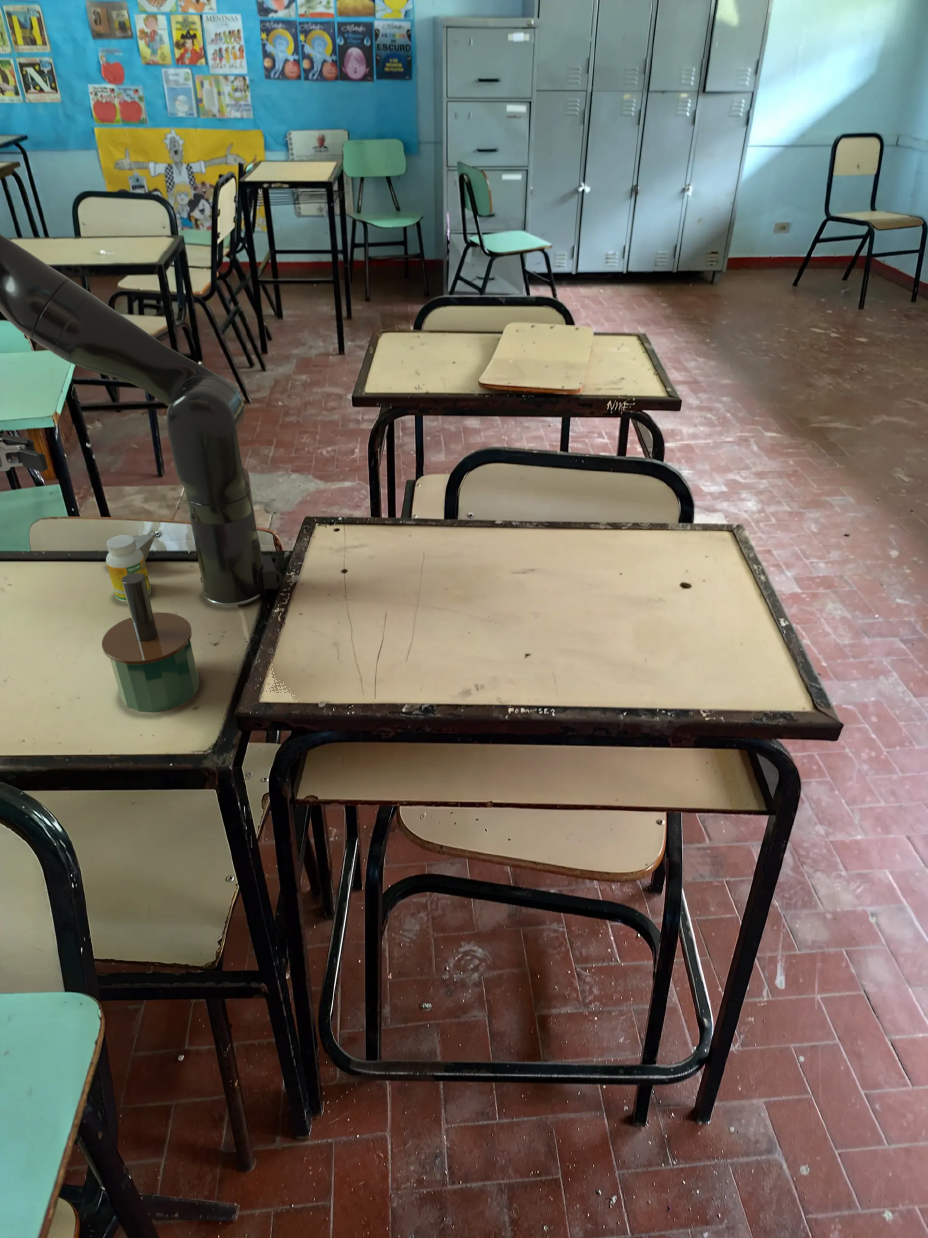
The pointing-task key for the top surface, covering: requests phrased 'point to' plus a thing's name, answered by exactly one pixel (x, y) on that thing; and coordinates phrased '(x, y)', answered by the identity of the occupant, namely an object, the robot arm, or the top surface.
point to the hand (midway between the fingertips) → (15, 475)
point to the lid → (144, 629)
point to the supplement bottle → (124, 562)
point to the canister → (158, 681)
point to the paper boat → (144, 543)
